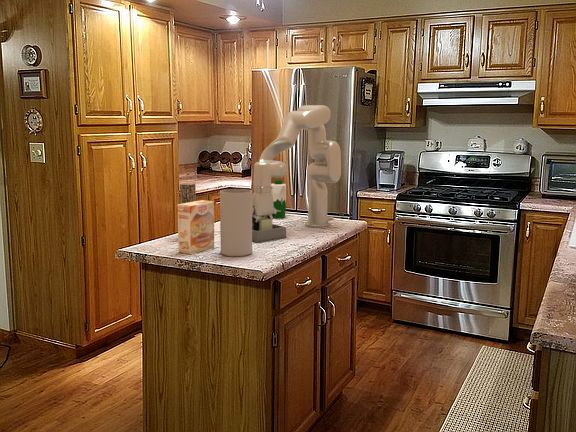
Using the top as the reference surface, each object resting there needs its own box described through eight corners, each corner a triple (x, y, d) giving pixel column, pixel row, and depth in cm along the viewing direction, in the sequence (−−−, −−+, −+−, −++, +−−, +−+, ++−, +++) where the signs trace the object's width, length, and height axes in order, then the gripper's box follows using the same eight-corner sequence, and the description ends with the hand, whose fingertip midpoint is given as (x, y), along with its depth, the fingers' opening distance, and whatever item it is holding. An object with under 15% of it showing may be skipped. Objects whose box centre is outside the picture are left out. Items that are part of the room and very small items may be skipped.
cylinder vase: (216, 251, 230) (215, 189, 226) (245, 248, 235) (245, 188, 231) (226, 258, 219) (225, 193, 215) (256, 255, 224) (256, 192, 220)
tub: (267, 233, 266) (267, 222, 265) (286, 237, 256) (286, 227, 255) (238, 237, 255) (238, 226, 255) (257, 243, 246) (257, 231, 245)
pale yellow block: (263, 234, 260) (263, 217, 258) (272, 236, 255) (272, 219, 254) (253, 236, 256) (253, 218, 255) (261, 238, 252) (261, 220, 250)
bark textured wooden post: (199, 237, 255) (198, 182, 251) (190, 240, 249) (189, 183, 245) (186, 236, 258) (185, 181, 254) (177, 239, 252) (176, 182, 248)
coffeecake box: (191, 254, 224) (190, 205, 221) (177, 252, 228) (176, 204, 225) (215, 247, 237) (214, 201, 233) (202, 245, 241) (201, 199, 237)
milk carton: (286, 216, 311) (287, 179, 308) (284, 219, 303) (284, 181, 299) (271, 215, 313) (271, 179, 309) (267, 218, 304) (267, 181, 301)
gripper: (272, 187, 260) (272, 226, 264) (241, 190, 249) (241, 230, 252) (283, 189, 255) (282, 228, 258) (252, 192, 244) (252, 233, 247)
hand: (262, 229), depth 255 cm, fingers open, 6 cm apart
